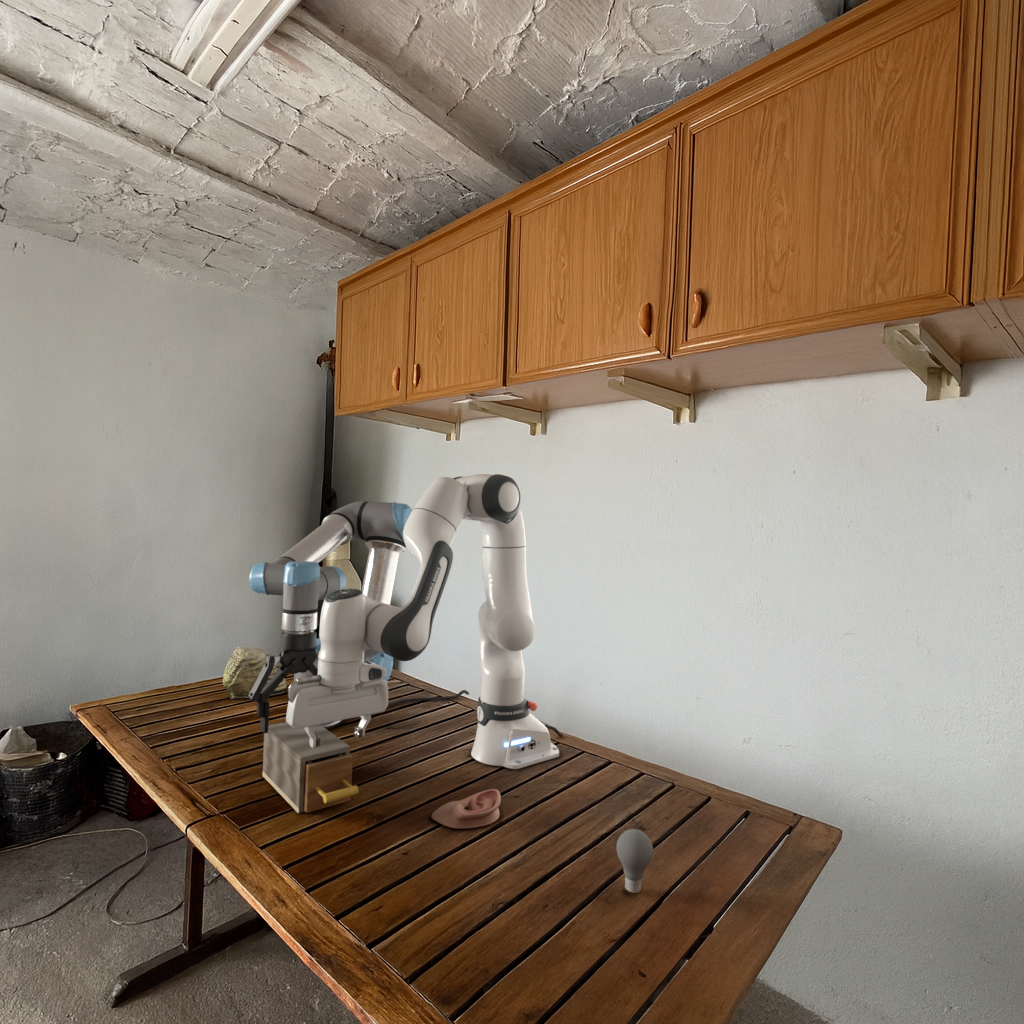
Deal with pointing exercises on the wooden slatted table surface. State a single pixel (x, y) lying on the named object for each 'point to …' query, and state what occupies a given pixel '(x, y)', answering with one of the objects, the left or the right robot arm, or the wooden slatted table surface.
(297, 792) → the cabinet
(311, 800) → the drawer
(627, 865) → the light bulb
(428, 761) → the wooden slatted table surface
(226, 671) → the fossil
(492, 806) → the anatomical model
